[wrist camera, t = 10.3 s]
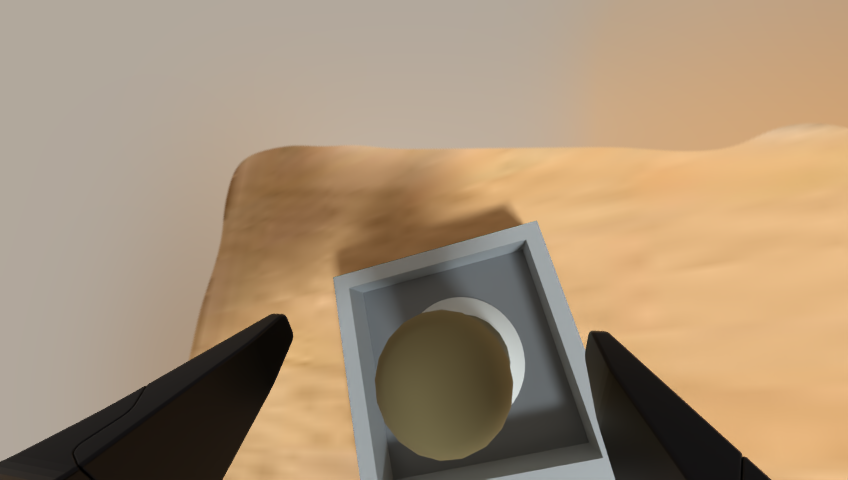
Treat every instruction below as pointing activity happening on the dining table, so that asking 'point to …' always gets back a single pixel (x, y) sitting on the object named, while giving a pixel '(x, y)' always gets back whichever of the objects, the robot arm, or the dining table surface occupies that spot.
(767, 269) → the dining table surface
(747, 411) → the dining table surface
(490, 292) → the walled pen
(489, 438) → the cork
